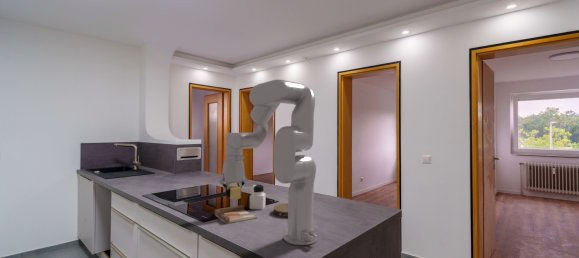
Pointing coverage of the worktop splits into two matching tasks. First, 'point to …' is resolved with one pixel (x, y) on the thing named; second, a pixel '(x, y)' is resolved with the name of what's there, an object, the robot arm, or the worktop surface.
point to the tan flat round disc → (281, 210)
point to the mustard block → (235, 192)
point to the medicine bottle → (257, 197)
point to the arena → (233, 214)
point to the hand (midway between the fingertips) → (233, 196)
